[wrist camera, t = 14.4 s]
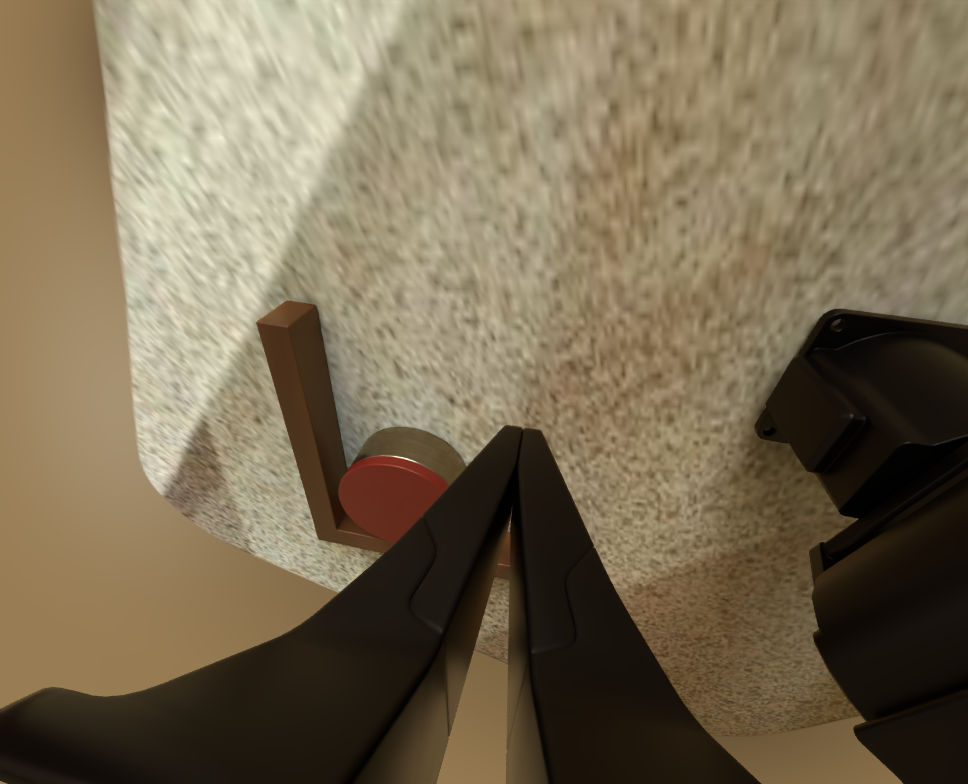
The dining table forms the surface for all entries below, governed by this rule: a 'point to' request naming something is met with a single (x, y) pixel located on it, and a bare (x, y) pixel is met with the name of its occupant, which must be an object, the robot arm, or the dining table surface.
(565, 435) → the dining table surface
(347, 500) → the tin
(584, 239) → the dining table surface
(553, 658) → the robot arm
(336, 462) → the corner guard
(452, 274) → the dining table surface
